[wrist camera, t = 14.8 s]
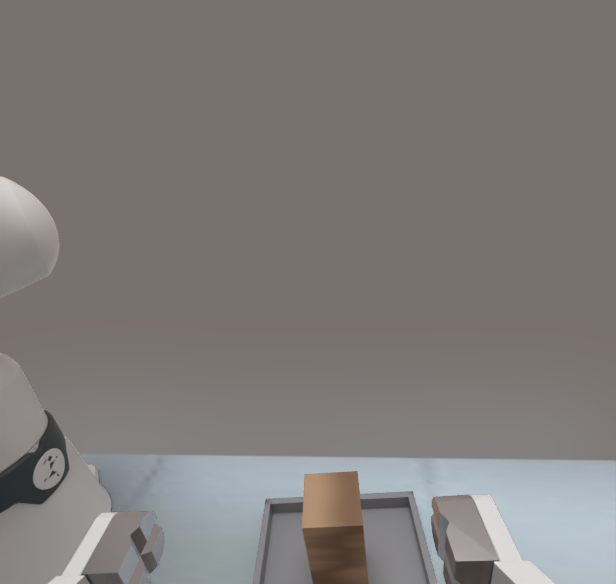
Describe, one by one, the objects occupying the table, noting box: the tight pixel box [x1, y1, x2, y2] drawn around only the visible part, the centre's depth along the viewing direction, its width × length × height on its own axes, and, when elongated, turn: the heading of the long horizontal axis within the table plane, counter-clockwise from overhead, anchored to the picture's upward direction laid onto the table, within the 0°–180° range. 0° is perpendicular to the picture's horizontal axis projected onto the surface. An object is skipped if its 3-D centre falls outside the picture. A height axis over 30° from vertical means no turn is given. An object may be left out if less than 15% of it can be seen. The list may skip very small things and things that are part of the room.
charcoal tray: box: [253, 491, 437, 584], centre depth 31 cm, size 16×14×2 cm
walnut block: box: [302, 471, 369, 584], centre depth 29 cm, size 4×4×11 cm
